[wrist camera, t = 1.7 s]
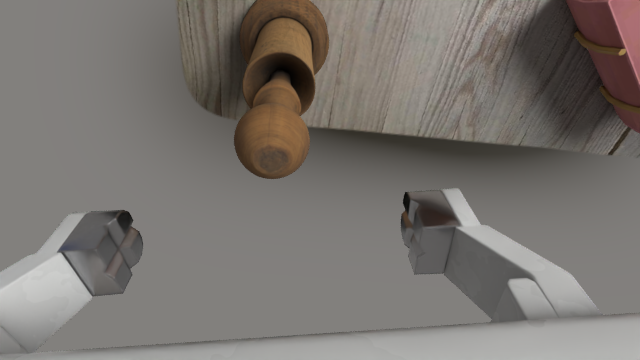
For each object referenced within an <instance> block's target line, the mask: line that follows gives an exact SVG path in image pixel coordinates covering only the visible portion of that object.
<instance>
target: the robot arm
mask: <svg viewBox="0 0 640 360" xmlns="http://www.w3.org/2000/svg"><path fill="white" fill-rule="evenodd" d="M403 204H404V207H405V212H403V213H402V216H401V232H402V237H403V240H404V244H405V245H406V246H407V247H408V248H409V256H408V257H409V259H410V263H411V265H412V269H413V271H414V274H437V273H438V274H440V273H444V275H445V276H446V277H447V278H448V279H449V280H450V281H451V282H452V283H454V284H455V285H456V286H457V287H458V288H459V289H460V290H461V291H462V292H463V293H464V294H465V295H466V296H468V297H469V298H470V299H471V300H472V301H473V302H474V303H475V304H476V305H477V306H478V307H479V308H480V309H482V310H483V311H484V312H485V313H486V314H487V315H488V316H489V317H490V318H491V319H492V320H491V322H489V323H474V324H459V325H444V326H429V327H414V328H399V329H384V330H368V331H355V332H354V331H353V332H339V333H323V334H308V335H293V336H278V337H263V338H248V339H233V340H217V341H202V342H187V343H172V344H156V345H141V346H126V347H111V348H96V349H82V350H66V351H52V352H37V353H34V352H35V351H36V350H37V349H38V348H39V347H40V346H41V345H42V344H43V343H44V342H46V341H47V340H48V339H49V338H50V337H51V336H52V335H53V334H54V333H55V332H56V331H57V330H58V329H60V328H61V327H62V326H63V325H64V324H65V323H66V322H67V321H68V320H70V319H71V318H72V317H73V316H74V315H75V314H76V313H77V312H78V311H79V310H80V309H81V308H82V307H84V306H85V305H86V304H87V303H88V302H89V301H90V300H91V299H92V298H93V297H92V296H101V295H112V294H123V292H124V290H125V288H126V286H127V284H128V282H129V280H130V278H131V276H132V272H131V270H130V268H132V267H133V266H134V265H135V264H137V263H138V262H139V260H140V257H141V255H142V249H143V242H142V237H141V235H140V233H139V231H138V230H136V229H135V228H133V227H132V226H131V225H132V222H133V219H132V217H131V215H130V213H129V212H128V211H125V210H116V211H91V212H76V213H72V214H69V215H67V217H66V218H65V219H64V220H63V221H62V223H61V224H60V225H59V226H58V228H57V229H56V230H55V231H54V233H53V234H52V235H51V236H50V238H48V240H47V241H46V242H45V243H44V245H43V246H42V247H41V248H40V250H39V251H38V252H37V253H36V254H30V255H28V256H27V257H25V258H23V259H22V260H20V261H18V262H17V263H15V264H13V265H11V266H10V267H8V268H6V269H5V270H3V271H2V272H0V360H640V313H626V314H612V315H602V314H601V312H600V311H599V310H598V308H597V307H596V306H595V305H594V303H593V302H592V301H591V299H590V298H589V297H588V295H587V294H586V293H585V291H584V290H583V289H582V288H581V286H580V285H579V284H578V282H577V281H576V280H575V279H574V277H573V276H572V275H571V274H570V273H569V272H567V271H565V270H563V269H562V268H560V267H558V266H556V265H555V264H553V263H551V262H549V261H548V260H546V259H544V258H543V257H541V256H539V255H537V254H536V253H534V252H532V251H531V250H529V249H527V248H525V247H523V246H522V245H520V244H518V243H517V242H515V241H513V240H511V239H510V238H508V237H506V236H505V235H503V234H501V233H499V232H498V231H496V230H494V229H492V228H491V227H489V226H487V225H481V224H480V223H479V221H478V219H477V218H476V216H475V214H474V213H473V211H472V210H471V208H470V206H469V205H468V203H467V201H466V200H465V198H464V196H463V195H462V193H461V192H460V190H459V189H457V188H450V189H440V190H430V191H415V192H405V195H404V199H403Z"/></svg>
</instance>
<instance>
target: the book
mask: <svg viewBox="0 0 640 360" xmlns="http://www.w3.org/2000/svg"><path fill="white" fill-rule="evenodd" d="M566 2H567V4H568V7H569V9H570V11H571V13H572V16H573V18H574V20H575V22H576V24H577V27H578V29H579V31H576V32H575V34H574V36H575V38H576V39H577V40H578V41H579V42H580V44H581V45H582V46H583V47H585V48H587V49H588V51H589V53H590V55H591V58H592V60H593V62H594V64H595V67H596V69H597V71H598V73H599V75H600V78H601V80H602V82H603V84H604V86H601V87H600V88H599V90H600V92H601V93H602V94H603V95H604V97H605V98H606V99H607V101H608V102H610V103H612V104H613V106H614V109H615V111H616V113H617V115H618V116H619V117H620V119H621V120H622V121H623V123H624V124H625V125H627V126H628V127H630V128H631V129H633V130H635V131H636V132H638V133H640V0H566Z"/></svg>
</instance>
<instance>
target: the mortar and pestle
mask: <svg viewBox="0 0 640 360" xmlns="http://www.w3.org/2000/svg"><path fill="white" fill-rule="evenodd" d="M240 47H241V51H242V54H243V57H244V59H245V61H246V63H247V64H248V66H247V68H246V71H245V74H244V77H243V85H242V87H243V94H244V98H245V100H246V102H247V104H248V106H249V107H250V108H251V109H250V110H249V111H248V112H246V113H245V114H244V115H243V117H242V118H241V119H240V121H239V123H238V125H237V127H236V130H235V135H234V145H235V150H236V153H237V156H238V158H239V160H240V161H241V163H242V164H243V165H244V166H245V168H246V169H248V170H249V171H250V172H251V173H253V174H255V175H257V176H259V177H262V178H267V179H278V178H282V177H285V176H288V175H290V174H292V173H293V172H295V171H296V170H297V169H298V168H299V167H300V166H301V165H302V163H303V162H304V160H305V159H306V156H307V154H308V150H309V144H310V139H309V133H308V129H307V127H306V125H305V123H304V121H303V120H302V118H301V117H300V116H301V115H302V114H303V113H305V112H306V111H307V110H308V108H309V107H310V105H311V103H312V101H313V99H314V95H315V78H314V75H315V74H316V73H317V72H318V71H319V70H320V69H321V67H322V65H323V64H324V62H325V60H326V57H327V54H328V48H329V37H328V31H327V26H326V22H325V20H324V17H323V15H322V14H321V12H320V11H319V9H318V8H317V7H316V6H315V5H314V4H313V3H312V2H311V1H310V0H257V1H256V2H255V3H254V4H253V5H252V6H251V7H250V9H249V10H248V12H247V14H246V16H245V18H244V20H243V22H242V25H241V29H240Z"/></svg>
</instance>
